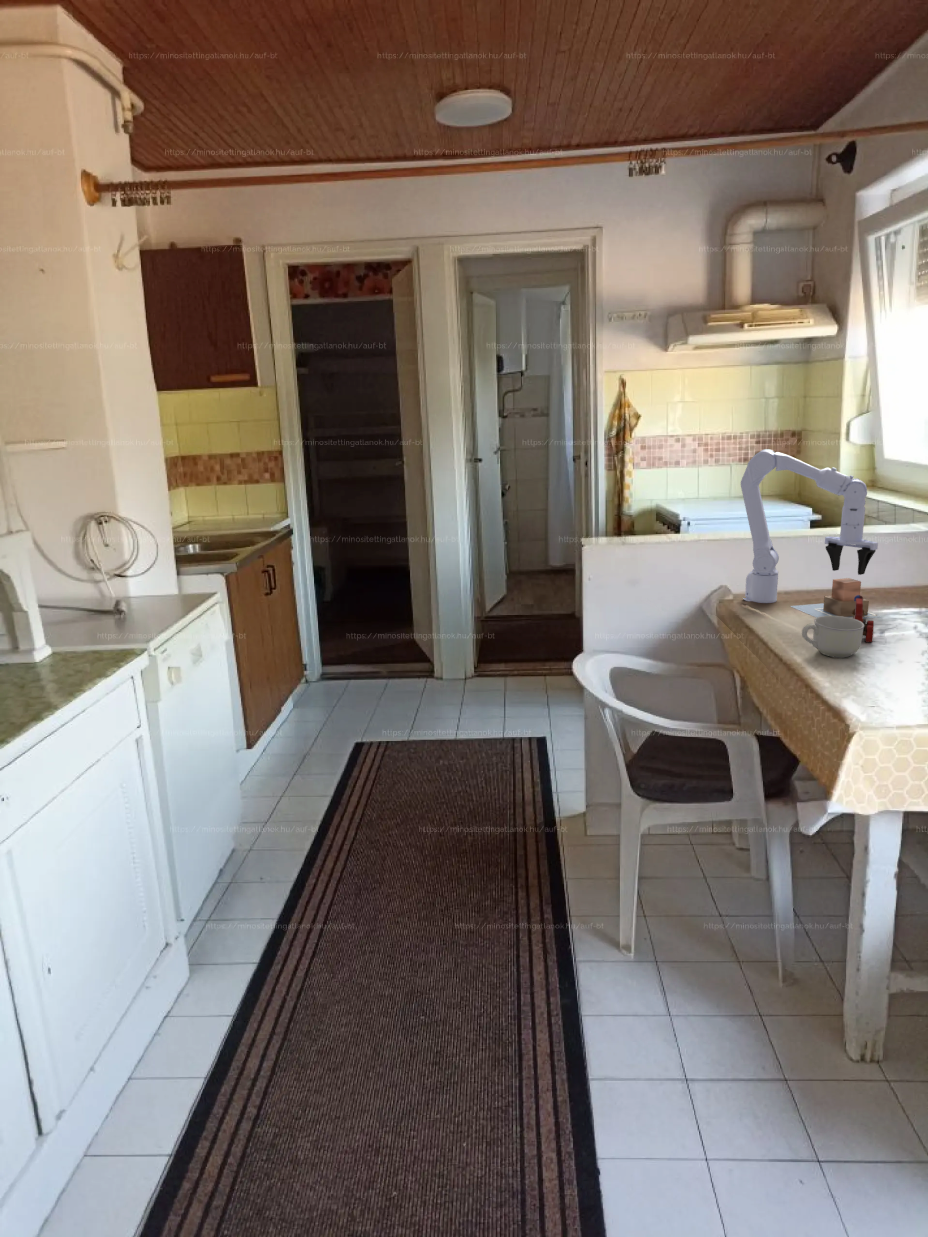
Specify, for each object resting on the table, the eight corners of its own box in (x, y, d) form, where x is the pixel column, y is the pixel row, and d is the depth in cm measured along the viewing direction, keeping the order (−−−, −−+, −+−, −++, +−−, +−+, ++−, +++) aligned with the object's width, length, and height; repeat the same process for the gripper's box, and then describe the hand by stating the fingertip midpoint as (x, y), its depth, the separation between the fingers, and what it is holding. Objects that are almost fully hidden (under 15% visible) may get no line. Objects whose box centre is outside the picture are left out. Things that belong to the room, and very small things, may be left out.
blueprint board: (789, 608, 239) (789, 605, 239) (840, 604, 241) (840, 601, 241) (826, 624, 222) (826, 621, 222) (881, 619, 224) (881, 616, 224)
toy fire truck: (872, 632, 213) (876, 593, 211) (872, 646, 203) (876, 604, 200) (842, 630, 216) (846, 591, 214) (840, 643, 205) (844, 602, 203)
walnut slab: (823, 610, 233) (824, 596, 232) (849, 608, 234) (850, 594, 233) (840, 617, 225) (841, 602, 224) (867, 614, 227) (868, 600, 226)
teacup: (852, 647, 202) (855, 615, 200) (868, 660, 192) (871, 627, 190) (792, 647, 204) (794, 615, 201) (805, 661, 193) (807, 627, 191)
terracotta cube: (831, 597, 231) (832, 579, 229) (847, 595, 232) (848, 577, 230) (843, 601, 226) (844, 583, 225) (859, 599, 227) (861, 581, 226)
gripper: (819, 522, 235) (816, 570, 239) (869, 528, 224) (864, 578, 227) (834, 520, 239) (830, 566, 243) (883, 525, 228) (879, 574, 231)
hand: (848, 572), depth 235 cm, fingers open, 7 cm apart
